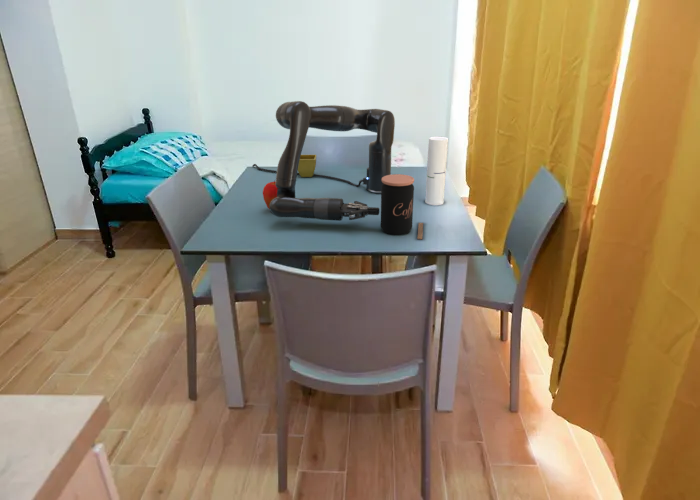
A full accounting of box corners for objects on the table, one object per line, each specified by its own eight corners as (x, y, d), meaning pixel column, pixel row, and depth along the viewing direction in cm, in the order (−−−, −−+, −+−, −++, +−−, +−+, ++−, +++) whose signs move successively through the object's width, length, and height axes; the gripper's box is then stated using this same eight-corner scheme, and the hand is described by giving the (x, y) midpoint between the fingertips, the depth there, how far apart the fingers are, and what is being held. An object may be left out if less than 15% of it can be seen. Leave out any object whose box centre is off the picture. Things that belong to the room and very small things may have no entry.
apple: (279, 204, 191) (276, 175, 186) (293, 210, 185) (291, 179, 180) (259, 210, 185) (256, 180, 180) (273, 216, 180) (271, 185, 174)
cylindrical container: (443, 205, 188) (448, 140, 178) (424, 204, 190) (428, 140, 179) (443, 199, 195) (448, 136, 184) (425, 198, 196) (429, 136, 185)
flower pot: (315, 178, 224) (315, 159, 220) (296, 178, 224) (295, 159, 220) (317, 173, 232) (316, 154, 228) (298, 173, 232) (297, 154, 228)
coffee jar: (392, 238, 160) (394, 185, 152) (374, 228, 168) (375, 177, 161) (418, 231, 165) (421, 179, 157) (399, 221, 173) (401, 172, 166)
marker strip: (417, 239, 159) (417, 238, 159) (418, 223, 171) (418, 222, 171) (422, 239, 159) (422, 238, 159) (423, 223, 171) (423, 222, 171)
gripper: (324, 205, 159) (377, 207, 157) (332, 192, 171) (381, 194, 169) (325, 226, 163) (376, 229, 160) (332, 212, 174) (381, 215, 172)
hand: (379, 211), depth 164 cm, fingers closed
